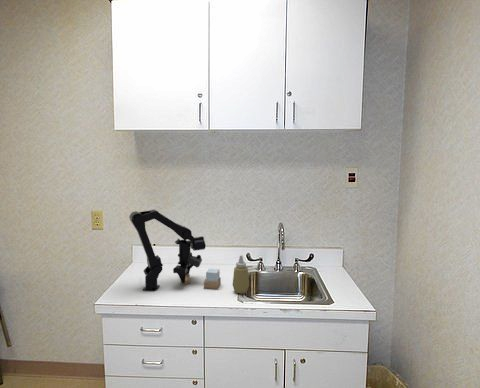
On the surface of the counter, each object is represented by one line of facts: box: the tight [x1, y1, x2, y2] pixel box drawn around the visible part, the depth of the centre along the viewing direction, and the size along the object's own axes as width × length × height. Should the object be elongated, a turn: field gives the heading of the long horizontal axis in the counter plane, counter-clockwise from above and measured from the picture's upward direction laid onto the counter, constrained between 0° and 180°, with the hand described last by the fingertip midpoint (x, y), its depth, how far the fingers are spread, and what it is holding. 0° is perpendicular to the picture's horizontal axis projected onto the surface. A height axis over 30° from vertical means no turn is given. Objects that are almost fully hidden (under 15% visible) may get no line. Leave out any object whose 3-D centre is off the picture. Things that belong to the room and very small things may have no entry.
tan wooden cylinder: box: [180, 273, 191, 286], centre depth 186 cm, size 5×5×4 cm
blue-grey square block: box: [205, 268, 221, 282], centre depth 181 cm, size 6×6×4 cm
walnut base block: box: [203, 277, 222, 291], centre depth 182 cm, size 7×7×4 cm
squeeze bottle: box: [232, 255, 250, 295], centre depth 175 cm, size 8×8×18 cm
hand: (185, 281), depth 186 cm, fingers closed on tan wooden cylinder, 5 cm apart
